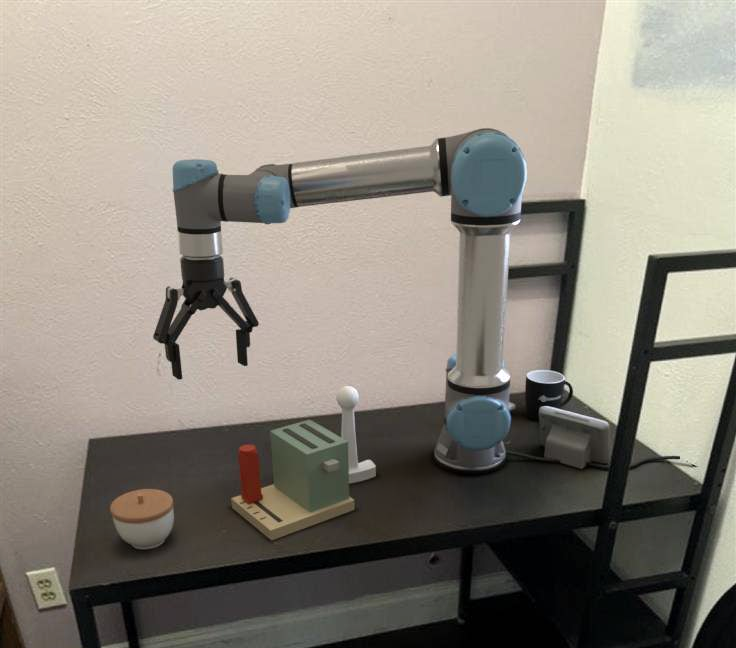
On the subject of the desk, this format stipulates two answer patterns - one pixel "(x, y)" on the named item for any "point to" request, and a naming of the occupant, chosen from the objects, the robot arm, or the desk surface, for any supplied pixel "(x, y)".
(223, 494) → the desk surface
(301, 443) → the toaster
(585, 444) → the digital clock
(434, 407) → the desk surface
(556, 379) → the mug
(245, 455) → the slider
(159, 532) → the trinket box
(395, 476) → the desk surface
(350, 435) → the joystick
